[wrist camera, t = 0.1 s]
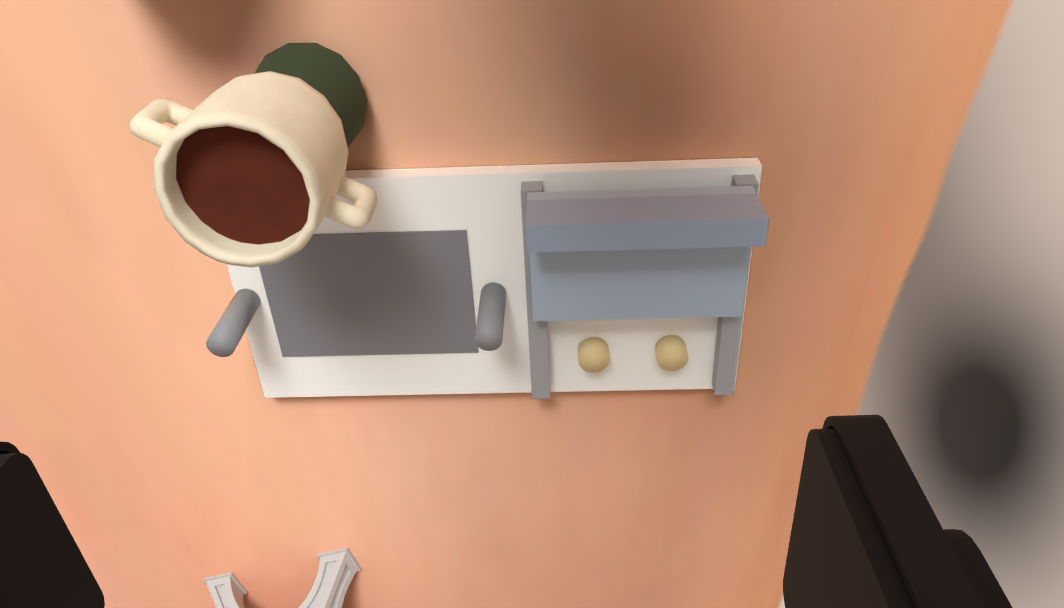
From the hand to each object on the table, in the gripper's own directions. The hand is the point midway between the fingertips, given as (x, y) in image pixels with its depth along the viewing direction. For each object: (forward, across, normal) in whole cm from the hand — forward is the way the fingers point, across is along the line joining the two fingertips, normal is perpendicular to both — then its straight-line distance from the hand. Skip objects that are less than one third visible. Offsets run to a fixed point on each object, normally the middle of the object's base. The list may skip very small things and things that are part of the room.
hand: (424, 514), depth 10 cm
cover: (+34, -6, +16) cm, 38 cm away
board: (+37, +3, +19) cm, 41 cm away
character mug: (+37, +12, +6) cm, 39 cm away
